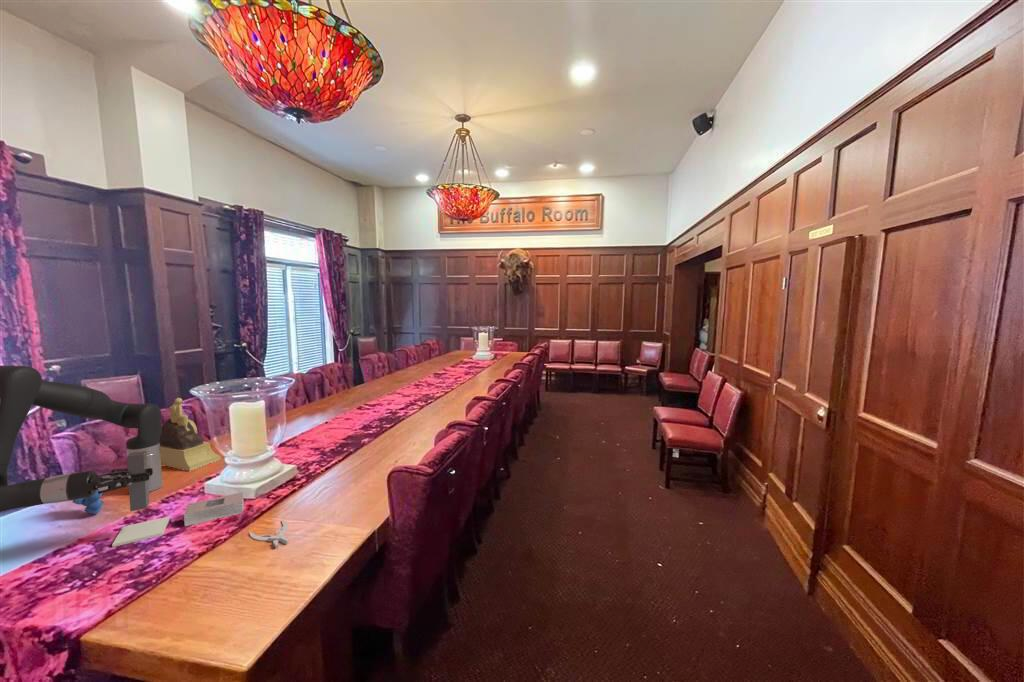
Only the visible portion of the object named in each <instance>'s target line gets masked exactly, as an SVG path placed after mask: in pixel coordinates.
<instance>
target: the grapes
mask: <svg viewBox="0 0 1024 682" xmlns="http://www.w3.org/2000/svg"><path fill="white" fill-rule="evenodd" d="M103 494H104V493H101V494H98V490H96V492H95V494H94V495H93V496H91V497H87V498H82V499H76V500H71V501H72V503H73V504H76V505H82V506H84V507H85V508H84V512H87V513H88V514H92V515H97V514H99V513H100V512H101V510H102V508H103V504H104V501H103V500H101V497H102V495H103Z"/></svg>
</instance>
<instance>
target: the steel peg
mask: <svg viewBox="0 0 1024 682" xmlns="http://www.w3.org/2000/svg"><path fill="white" fill-rule="evenodd" d="M126 459H127V468H128V476H129V475H137V474H143V473H148V471H147V452H146V451H141V452H134V453H130V454H129V455H128V456H127V455H126ZM128 493H129V494H128V495H129V510H130V512H135V511H140V510H145V509H147V508H148V507H149V505H150V492H149V488H148V480H147V481H141V482H135V483H133V482H132V484H130V485H128Z"/></svg>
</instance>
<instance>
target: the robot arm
mask: <svg viewBox="0 0 1024 682" xmlns="http://www.w3.org/2000/svg"><path fill="white" fill-rule="evenodd" d="M42 377H43V376H42V375H41V373H40V371H39V370H37V369H36V368H33V367H30V366H27V365H0V513H1V512H7V511H10V510H14V509H20V508H22V509H23V508H30V507H34V506H39V505H40V506H41V505H46V504H58V503H62V502H69V501H73V500H76V499H82V498H87V497H91V496H93V495H94V494H95V492H96V490H98V494H101V493H103V494H104V493H108V492H111V491H117V490H120V489H123V488H126V487H128V486H129V485H130V484H132V482H133V483H135V482H141V481H147V480H148V488H149V493H150V492H153V491H156V490H158V489H160V488H162V487H163V485H164V483H163V470H162V469H163V466H161V452H160V436H161V433H162V426H163V424H162V423H163V422H162V421H163V420H162V411H161V408H160V406H159V405H158V404H156V403H129V402H127V403H126V402H122V401H117V400H113V399H111V397H110V396H108V394H107V393H105V392H103V391H100V390H98V389H94V388H91V387H87V386H85V385H79V384H72V383H67V382H66V383H65V382H57V381H50V380H43V378H42ZM32 406H36V407H40V408H43V409H46V410H51V411H55V412H58V413H63V414H65V415H70V416H74V417H78V418H79V417H80V418H87V419H91V420H101V421H105V422H107V423H111V424H114V425H116V426H119V427H123V428H126V429H137V435H136V436H134V437H131V438H129V439H127V440H126V442H125V446H126V447H125V448H126V457H127V456H128V455H129V454H130V453H134V452H141V451H146V452H147V471H148V473H143V474H137V475H129V476H128V467H127V468H115V469H114V468H113V469H111V470H110V471H108V472H104V473H102V474H100V475H98V474H97V473H96V471H95V470H84V471H78V472H71V473H67V474H66V473H65V474H58V475H54V476H51V477H50V476H49V477H43V478H37V479H31V480H25V481H21V482H17V483H15V484H14V483H13V484H8V480H9V479H8V478H9V477H8V468H9V465H10V463H11V458H12V455H13V452H14V447H15V444H16V441H17V438H18V436H19V432H20V430H21V428H22V426H23V424H24V422H25V420H26V419H27V417H28V414H29V412H30V410H31V408H32Z"/></svg>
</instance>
